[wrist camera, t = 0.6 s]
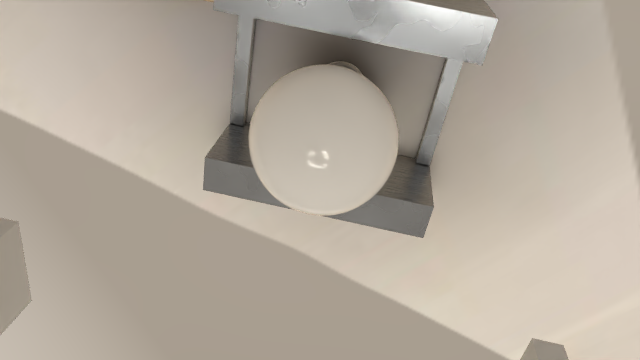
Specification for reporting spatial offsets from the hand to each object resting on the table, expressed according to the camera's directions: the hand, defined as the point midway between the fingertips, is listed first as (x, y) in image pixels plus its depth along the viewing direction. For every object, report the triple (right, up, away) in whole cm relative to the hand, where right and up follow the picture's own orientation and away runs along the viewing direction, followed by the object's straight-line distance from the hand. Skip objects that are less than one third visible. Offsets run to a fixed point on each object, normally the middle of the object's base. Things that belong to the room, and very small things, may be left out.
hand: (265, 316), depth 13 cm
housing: (+3, +9, +15) cm, 18 cm away
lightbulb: (+3, +9, +15) cm, 18 cm away
